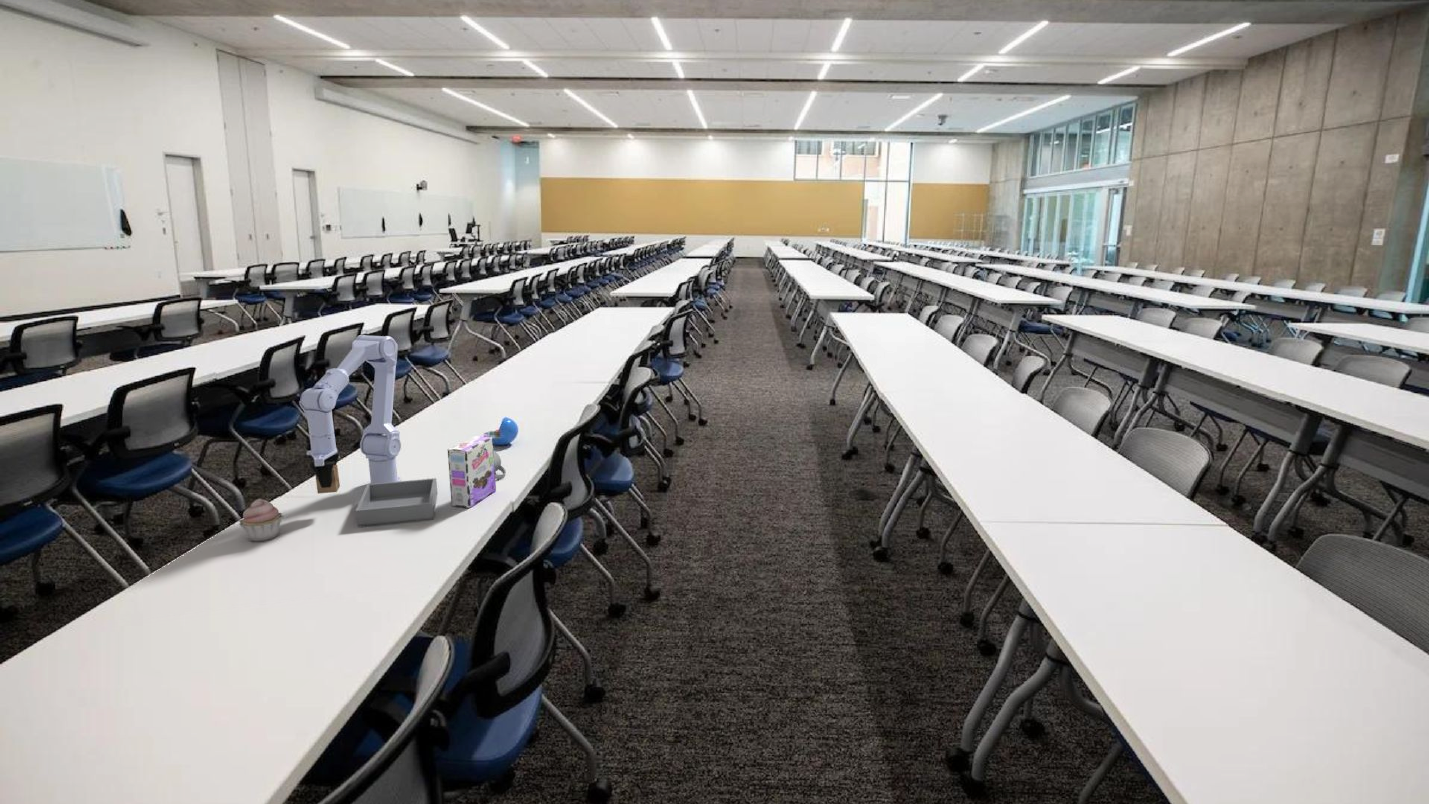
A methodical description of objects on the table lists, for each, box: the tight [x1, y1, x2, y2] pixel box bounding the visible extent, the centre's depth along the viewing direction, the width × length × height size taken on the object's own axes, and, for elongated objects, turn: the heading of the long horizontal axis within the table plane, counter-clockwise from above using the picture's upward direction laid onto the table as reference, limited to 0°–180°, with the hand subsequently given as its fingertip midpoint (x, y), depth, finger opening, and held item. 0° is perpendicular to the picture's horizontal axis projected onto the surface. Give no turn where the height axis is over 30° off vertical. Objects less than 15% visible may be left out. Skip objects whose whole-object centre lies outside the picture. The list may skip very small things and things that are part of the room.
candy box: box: [447, 435, 497, 509], centre depth 207 cm, size 14×6×16 cm, turn 165°
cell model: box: [483, 416, 519, 446], centre depth 257 cm, size 10×12×10 cm
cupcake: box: [238, 498, 284, 543], centre depth 182 cm, size 9×9×10 cm
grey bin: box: [355, 477, 438, 528], centre depth 200 cm, size 20×18×4 cm
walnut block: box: [314, 464, 341, 495], centre depth 195 cm, size 4×4×6 cm
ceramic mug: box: [493, 449, 507, 480], centre depth 226 cm, size 11×8×8 cm
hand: (328, 483), depth 196 cm, fingers closed on walnut block, 4 cm apart
